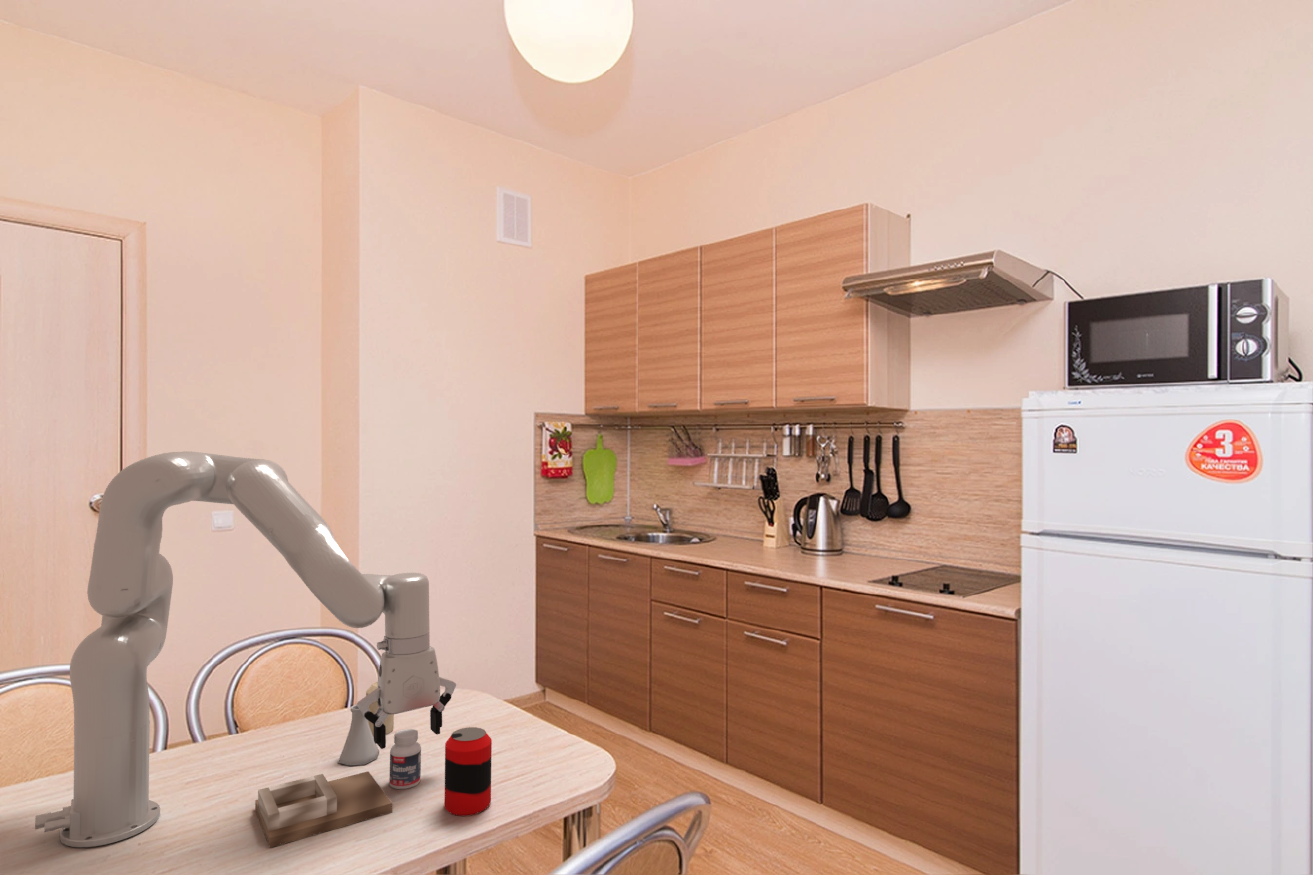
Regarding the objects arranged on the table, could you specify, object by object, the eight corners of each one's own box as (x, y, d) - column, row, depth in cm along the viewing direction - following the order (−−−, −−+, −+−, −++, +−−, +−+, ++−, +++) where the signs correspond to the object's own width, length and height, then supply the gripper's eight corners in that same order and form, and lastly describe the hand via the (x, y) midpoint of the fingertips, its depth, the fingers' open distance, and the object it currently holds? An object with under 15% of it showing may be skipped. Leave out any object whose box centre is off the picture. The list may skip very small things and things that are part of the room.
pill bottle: (388, 791, 127) (388, 740, 127) (390, 777, 132) (391, 728, 132) (419, 787, 128) (420, 737, 128) (421, 774, 133) (421, 726, 133)
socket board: (269, 847, 109) (270, 821, 109) (255, 809, 120) (255, 784, 120) (392, 811, 120) (392, 787, 120) (368, 779, 131) (368, 757, 131)
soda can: (441, 798, 124) (442, 728, 124) (486, 790, 127) (487, 722, 127) (447, 820, 117) (448, 746, 117) (494, 811, 120) (495, 738, 120)
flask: (385, 751, 143) (386, 700, 143) (367, 767, 136) (368, 714, 136) (350, 749, 143) (351, 698, 144) (330, 765, 136) (331, 712, 136)
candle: (399, 729, 153) (399, 682, 153) (376, 738, 149) (377, 689, 149) (382, 723, 156) (382, 677, 156) (359, 732, 152) (360, 684, 152)
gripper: (363, 657, 122) (364, 759, 122) (462, 639, 132) (463, 733, 132) (351, 647, 128) (352, 744, 128) (447, 630, 138) (448, 720, 138)
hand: (408, 738), depth 130 cm, fingers open, 9 cm apart
